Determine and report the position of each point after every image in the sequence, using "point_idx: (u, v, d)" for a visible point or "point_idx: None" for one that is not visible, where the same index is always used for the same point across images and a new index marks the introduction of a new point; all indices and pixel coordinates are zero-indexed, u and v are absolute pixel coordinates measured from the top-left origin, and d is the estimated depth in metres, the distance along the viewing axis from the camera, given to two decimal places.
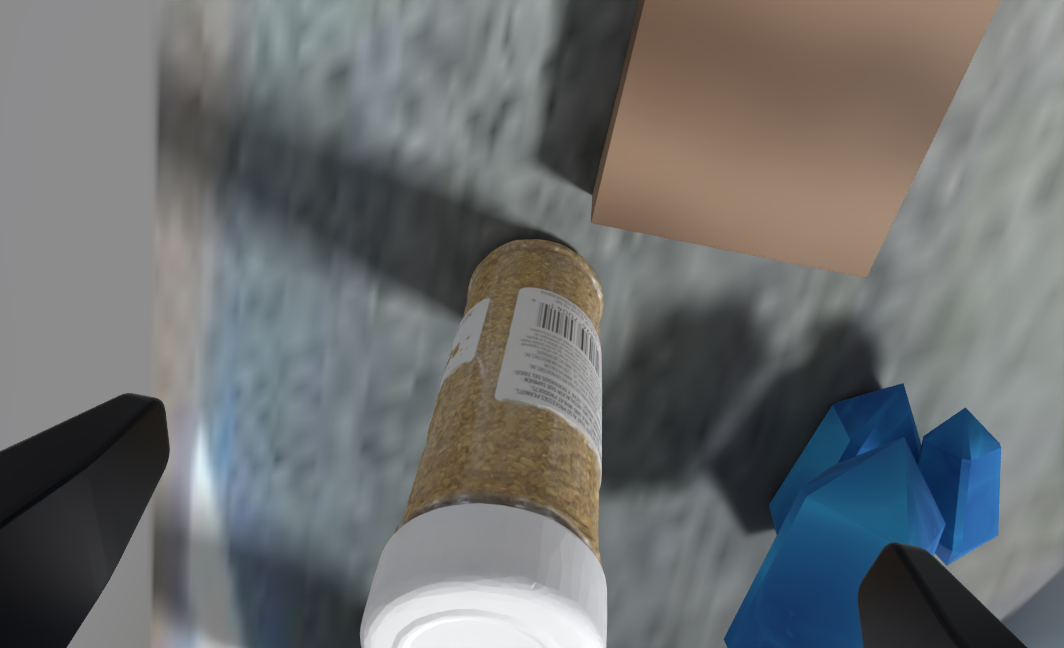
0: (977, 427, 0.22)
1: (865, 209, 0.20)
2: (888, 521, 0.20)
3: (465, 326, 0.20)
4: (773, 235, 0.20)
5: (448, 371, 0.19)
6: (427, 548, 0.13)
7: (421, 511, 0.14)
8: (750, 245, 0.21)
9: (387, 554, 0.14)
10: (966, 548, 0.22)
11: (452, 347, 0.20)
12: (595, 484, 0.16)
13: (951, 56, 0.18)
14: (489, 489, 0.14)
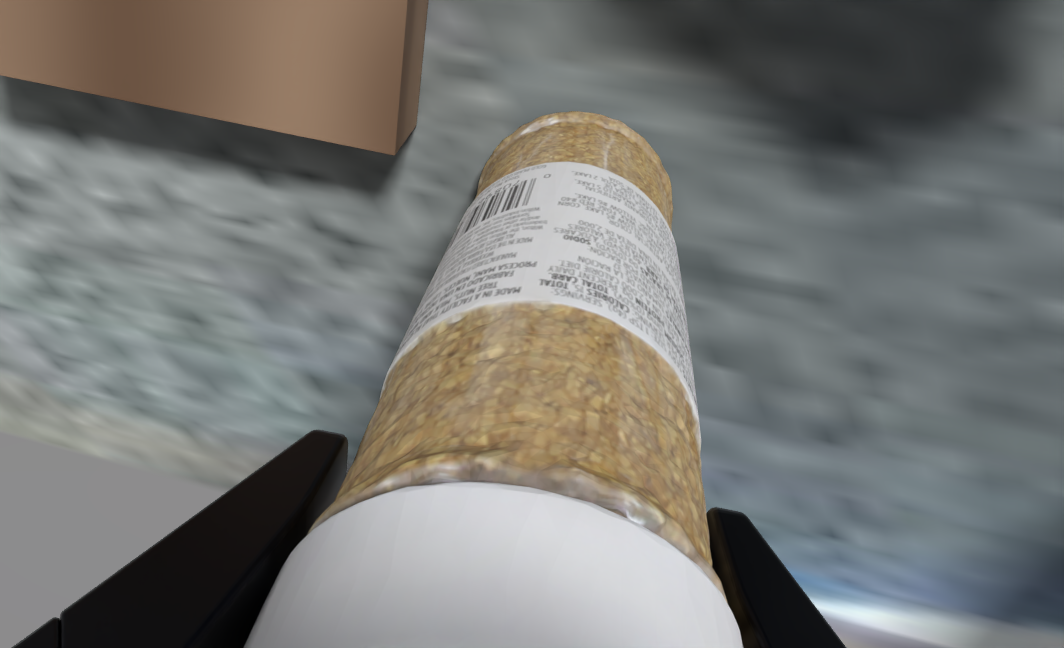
0: None
1: None
2: None
3: None
4: None
5: None
6: None
7: None
8: None
9: None
10: None
11: None
12: (480, 345, 0.08)
13: None
14: None
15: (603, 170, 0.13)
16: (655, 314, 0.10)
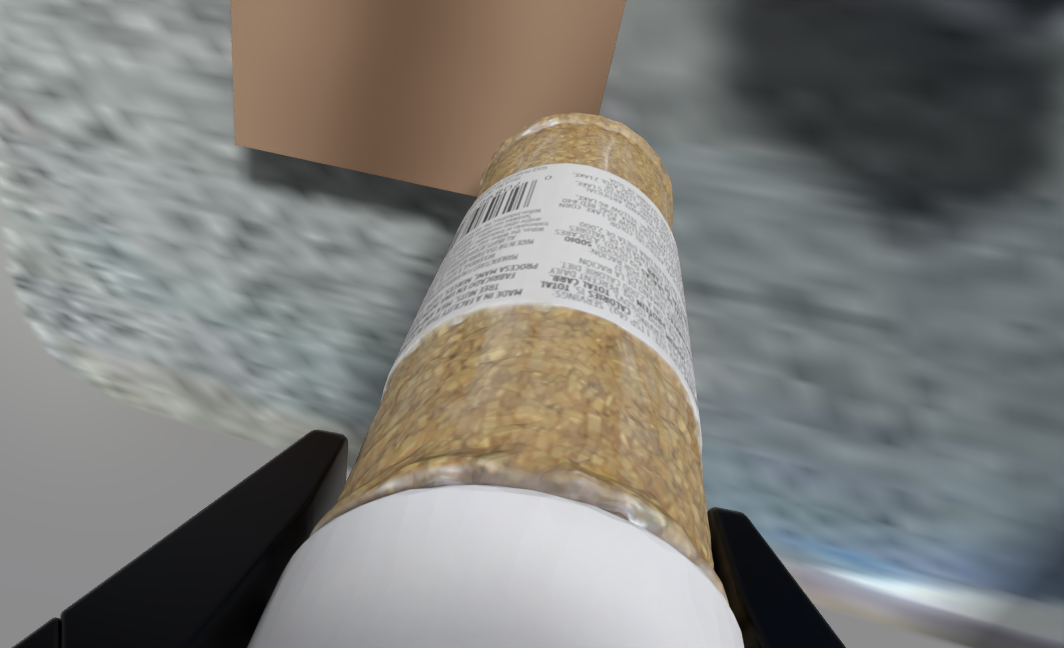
0: None
1: None
2: None
3: None
4: (591, 9, 0.17)
5: None
6: None
7: None
8: (604, 37, 0.17)
9: None
10: None
11: None
12: (482, 347, 0.08)
13: None
14: None
15: (604, 172, 0.13)
16: (657, 317, 0.10)
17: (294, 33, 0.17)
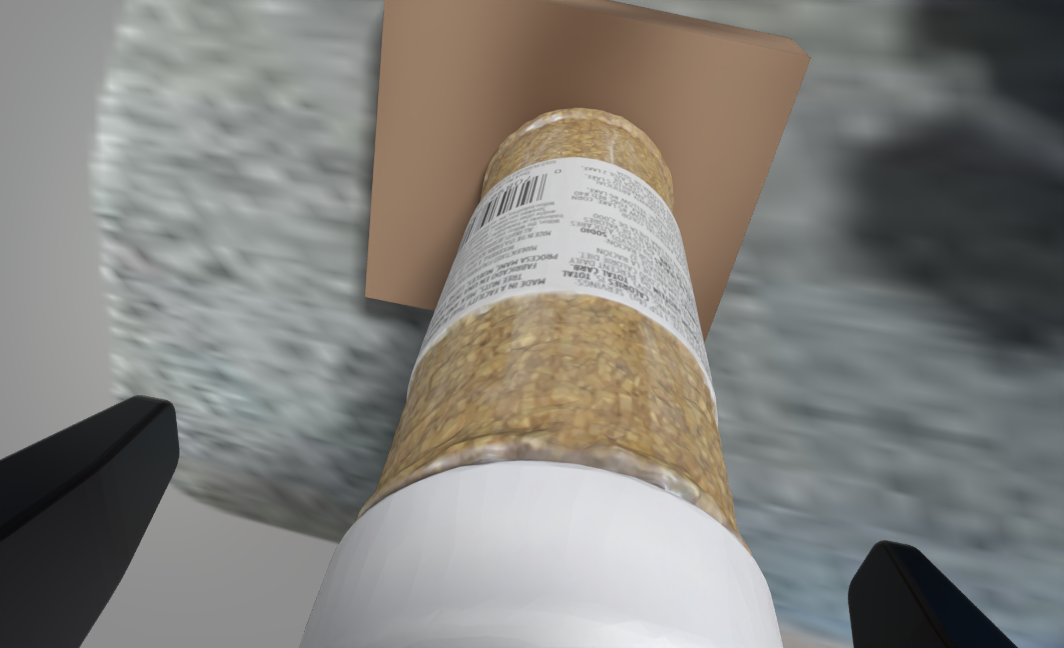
0: None
1: (707, 79, 0.16)
2: None
3: None
4: (732, 182, 0.17)
5: None
6: None
7: None
8: (742, 206, 0.17)
9: None
10: None
11: None
12: (511, 334, 0.09)
13: (521, 22, 0.15)
14: None
15: (611, 165, 0.13)
16: (672, 302, 0.10)
17: (434, 201, 0.18)
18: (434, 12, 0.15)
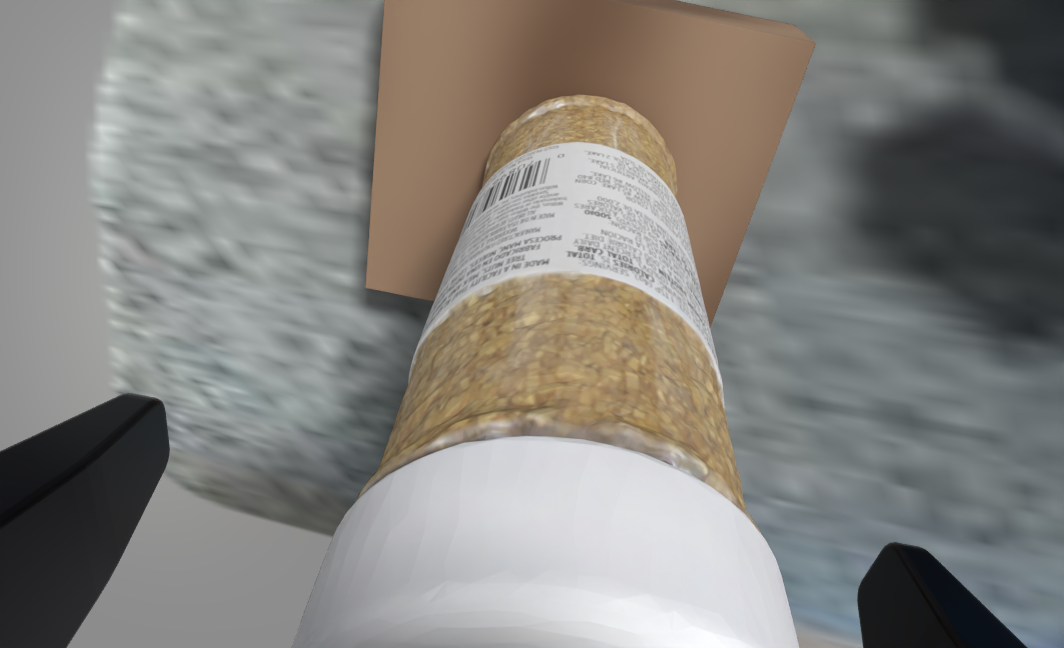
0: None
1: (711, 65, 0.16)
2: None
3: None
4: (736, 170, 0.17)
5: None
6: None
7: None
8: (746, 195, 0.17)
9: None
10: None
11: None
12: (515, 313, 0.08)
13: (523, 8, 0.15)
14: None
15: (614, 150, 0.13)
16: (678, 284, 0.10)
17: (435, 190, 0.18)
18: None
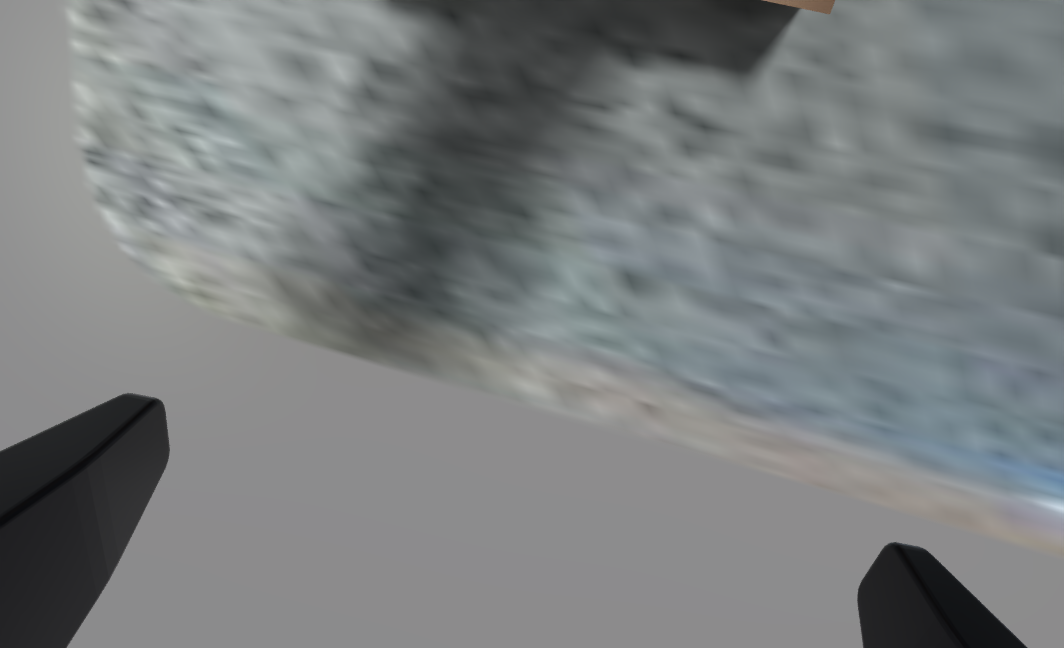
0: None
1: None
2: None
3: None
4: None
5: None
6: None
7: None
8: None
9: None
10: None
11: None
12: None
13: None
14: None
15: None
16: None
17: None
18: None
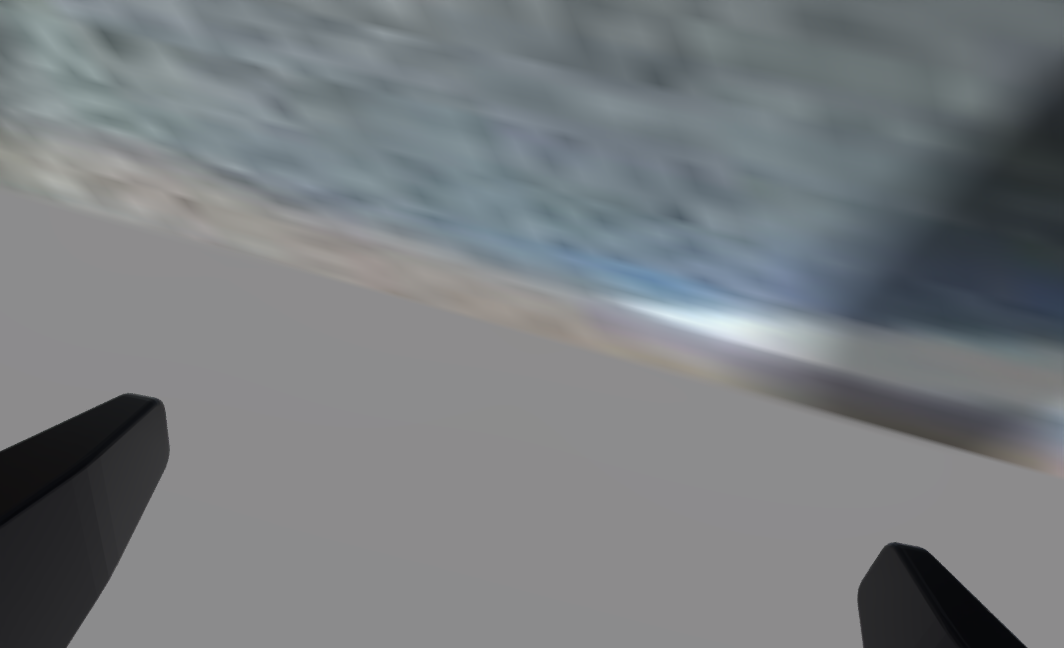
0: None
1: None
2: None
3: None
4: None
5: None
6: None
7: None
8: None
9: None
10: None
11: None
12: None
13: None
14: None
15: None
16: None
17: None
18: None
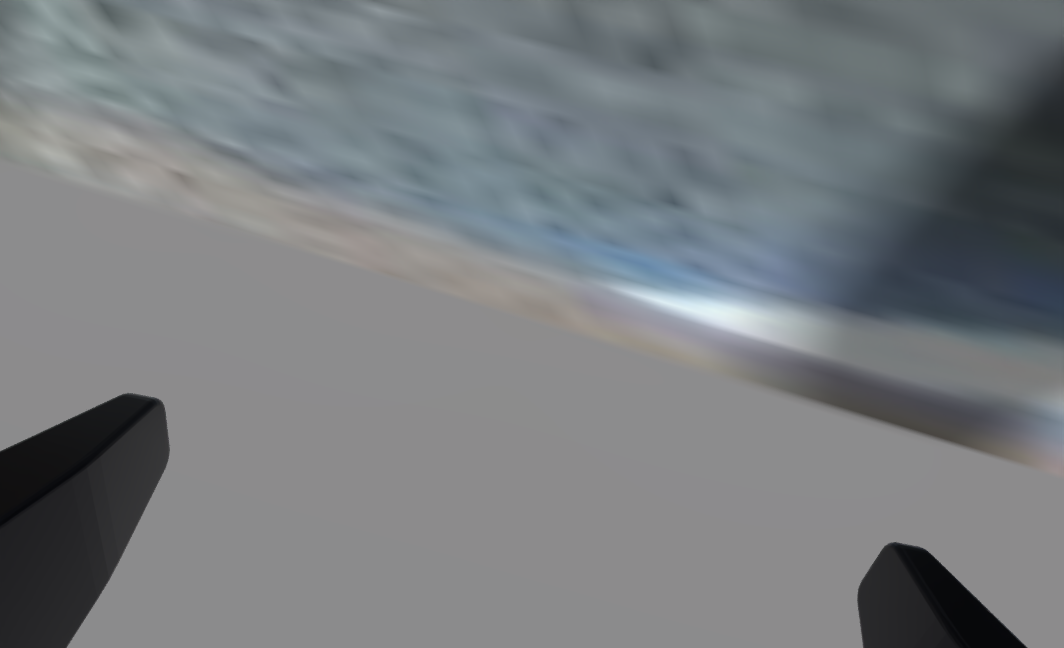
0: None
1: None
2: None
3: None
4: None
5: None
6: None
7: None
8: None
9: None
10: None
11: None
12: None
13: None
14: None
15: None
16: None
17: None
18: None
